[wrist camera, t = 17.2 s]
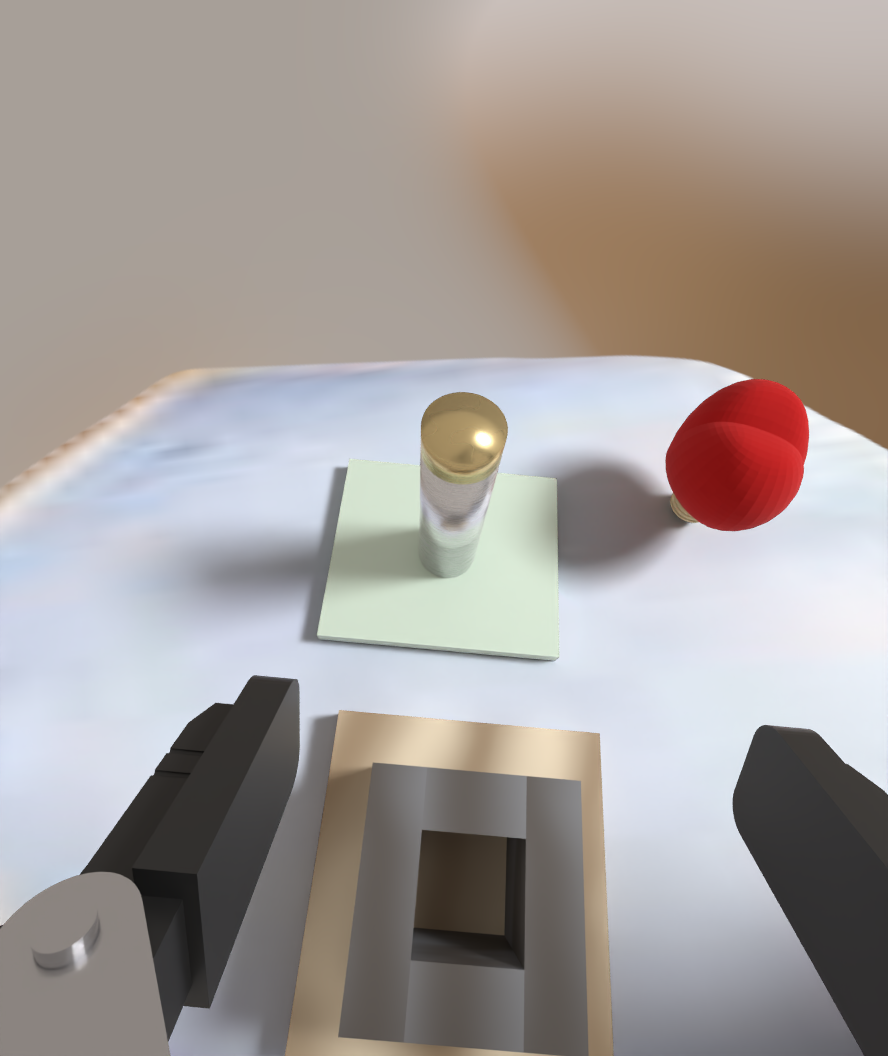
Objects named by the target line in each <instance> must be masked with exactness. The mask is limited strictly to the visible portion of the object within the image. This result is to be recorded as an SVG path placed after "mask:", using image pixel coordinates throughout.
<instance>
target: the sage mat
mask: <svg viewBox="0 0 888 1056" xmlns="http://www.w3.org/2000/svg"><path fill="white" fill-rule="evenodd" d="M419 514H420V465H409V464H399V463H388V462H378V461H367V460H357V459H349V464H348V470H347V475H346V480H345V486H344V491H343V497H342V502H341V507H340V513H339V518H338V524H337V529H336V534H335V540H334V545H333V551H332V556H331V561H330V567H329V572H328V578H327V583H326V588H325V594H324V599H323V605H322V610H321V616H320V621H319V626H318V632H317V636H318V638H319V639H322V640H333V641H344V642H355V643H366V644H377V645H388V646H399V647H410V648H421V649H432V650H443V651H454V652H465V653H476V654H487V655H498V656H509V657H520V658H531V659H542V660H553V661H555V660H557V659H558V658H559V604H558V530H557V478H547V477H536V476H526V475H515V474H505V473H497V476H496V479H495V483H494V487H493V490H492V494H491V498H490V502H489V505H488V509H487V513H486V517H485V520H484V524H483V528H482V531H481V535H480V539H479V543H478V546H477V550H476V554H475V558H474V561H473V563H472V565H471V567H470V568H469V569H468V570H467V571H466V572H465V573H463V574H462V575H460V576H457V577H454V578H441V577H437V576H435V575H433V574H431V573H430V572H429V571H427V570H426V569H425V567H424V566H423V565H422V563H421V560H420V557H419Z"/></svg>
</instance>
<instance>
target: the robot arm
mask: <svg viewBox="0 0 888 1056" xmlns="http://www.w3.org/2000/svg"><path fill="white" fill-rule="evenodd" d="M299 748H300V736H299V683H298V680H297V679H288V678H278V677H267V676H257V675H254V676H252V677H251V678H250V679H249V681H248V682H247V684H246V685H245V687H244V689H243V690H242V692H241V693H240V695H239V697H238V698H237V700H236V702H235V703H234V705H233V704H222V703H215V704H214V705H212V706H211V707H209V708H208V709H207V710H205V711H204V712H203V713H201V714H200V715H198V716H197V717H196V718H194V719H193V720H192V721H190V722H189V723H188V724H187V726H186V727H185V728H184V730H183V731H182V733H181V734H180V735H179V737H178V738H177V740H176V741H175V742H174V744H173V745H172V747H171V748H170V752H169V753H167V754H166V755H165V756H164V758H163V759H162V761H161V762H160V763H159V765H158V766H157V768H156V769H155V773H154V775H153V776H150V778H149V779H148V780H147V782H146V783H145V785H144V786H143V787H142V789H141V790H140V792H139V793H138V794H137V796H136V797H135V799H134V800H133V801H132V803H131V804H130V806H129V807H128V809H127V810H126V811H125V813H124V814H123V816H122V817H121V818H120V820H119V821H118V823H117V824H116V825H115V827H114V828H113V830H112V831H111V832H110V834H109V835H108V837H107V838H106V839H105V841H104V842H103V844H102V845H101V846H100V848H99V849H98V851H97V852H96V854H95V855H94V856H93V858H92V859H91V861H90V862H89V863H88V865H87V866H86V867H85V868H84V870H83V871H82V872H81V874H80V875H77V876H74V877H72V878H69V879H66V880H63V881H61V882H59V883H57V884H55V885H53V886H51V887H49V888H47V889H46V890H44V891H42V892H41V893H39V894H37V895H36V896H35V897H33V898H32V899H31V900H29V901H28V902H27V903H25V904H24V905H23V906H22V907H21V908H20V909H18V910H17V911H16V912H15V913H14V914H13V915H12V916H11V917H10V918H9V919H8V920H7V922H6V923H5V924H4V925H1V926H0V1056H170V1051H169V1045H168V1041H169V1039H170V1036H171V1034H172V1032H173V1029H174V1027H175V1024H176V1022H177V1020H178V1017H179V1015H180V1012H181V1010H182V1008H183V1006H189V1007H200V1008H210V1006H211V1003H212V1001H213V998H214V995H215V993H216V990H217V987H218V985H219V982H220V979H221V977H222V974H223V971H224V969H225V966H226V963H227V961H228V958H229V955H230V953H231V950H232V947H233V945H234V942H235V939H236V937H237V934H238V931H239V929H240V926H241V924H242V921H243V918H244V916H245V913H246V910H247V908H248V905H249V902H250V900H251V897H252V894H253V892H254V889H255V886H256V884H257V881H258V878H259V876H260V873H261V870H262V868H263V865H264V862H265V860H266V857H267V854H268V852H269V849H270V846H271V844H272V841H273V838H274V836H275V833H276V831H277V828H278V825H279V823H280V820H281V817H282V815H283V812H284V809H285V807H286V804H287V801H288V799H289V796H290V793H291V791H292V788H293V785H294V781H295V777H296V773H297V767H298V761H299ZM733 814H734V819H735V823H736V826H737V828H738V831H739V833H740V835H741V837H742V839H743V840H744V842H745V844H746V846H747V847H748V849H749V851H750V853H751V855H752V856H753V858H754V860H755V862H756V864H757V865H758V867H759V869H760V871H761V872H762V874H763V876H764V878H765V880H766V881H767V883H768V885H769V887H770V888H771V890H772V892H773V894H774V896H775V897H776V899H777V901H778V903H779V904H780V906H781V908H782V910H783V912H784V913H785V915H786V917H787V919H788V921H789V922H790V924H791V926H792V928H793V929H794V931H795V933H796V935H797V937H798V938H799V940H800V942H801V944H802V945H803V947H804V949H805V951H806V953H807V954H808V956H809V958H810V960H811V961H812V963H813V965H814V967H815V969H816V970H817V972H818V974H819V976H820V978H821V979H822V981H823V983H824V985H825V986H826V988H827V990H828V992H829V994H830V995H831V997H832V999H833V1001H834V1002H835V1004H836V1006H837V1008H838V1010H839V1011H840V1013H841V1015H842V1017H843V1019H844V1020H845V1022H846V1024H847V1026H848V1027H849V1029H850V1031H851V1033H852V1035H853V1036H854V1038H855V1040H856V1042H857V1043H858V1045H859V1047H860V1049H861V1051H862V1052H863V1054H864V1056H888V795H887V794H886V793H885V791H884V790H882V789H881V788H880V787H878V786H877V785H875V784H874V783H873V782H871V781H870V780H869V779H867V778H866V777H865V776H863V775H862V774H860V773H859V772H858V771H856V770H855V769H854V768H852V767H851V766H849V765H848V764H845V763H844V762H843V761H842V760H841V758H840V757H839V756H838V755H837V754H836V753H835V752H834V751H833V750H832V749H831V747H830V746H829V745H828V744H827V743H826V742H825V741H824V740H823V739H822V737H821V736H820V735H819V734H817V733H816V732H815V731H813V730H810V729H802V728H791V727H781V726H770V725H763V726H761V727H759V728H758V729H757V731H756V732H755V734H754V737H753V739H752V742H751V745H750V748H749V751H748V754H747V756H746V759H745V762H744V765H743V768H742V770H741V773H740V776H739V779H738V782H737V785H736V787H735V790H734V794H733Z"/></svg>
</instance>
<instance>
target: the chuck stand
mask: <svg viewBox="0 0 888 1056" xmlns="http://www.w3.org/2000/svg"><path fill="white" fill-rule="evenodd" d="M285 1056H614V1055H613V1032H612V1009H611V986H610V963H609V940H608V917H607V894H606V871H605V848H604V825H603V801H602V778H601V755H600V733H589V732H577V731H566V730H555V729H544V728H533V727H522V726H511V725H499V724H488V723H477V722H466V721H455V720H444V719H433V718H421V717H410V716H399V715H388V714H377V713H366V712H355V711H343V710H339V714H338V720H337V726H336V733H335V739H334V746H333V752H332V758H331V765H330V771H329V777H328V784H327V790H326V797H325V803H324V809H323V816H322V822H321V828H320V835H319V841H318V847H317V854H316V860H315V867H314V873H313V879H312V886H311V892H310V898H309V905H308V911H307V917H306V924H305V930H304V937H303V943H302V949H301V956H300V962H299V968H298V975H297V981H296V987H295V994H294V1000H293V1007H292V1013H291V1019H290V1026H289V1032H288V1038H287V1045H286V1051H285Z"/></svg>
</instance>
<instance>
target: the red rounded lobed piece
mask: <svg viewBox="0 0 888 1056" xmlns="http://www.w3.org/2000/svg"><path fill="white" fill-rule="evenodd" d="M808 441H809V426H808V418H807V414H806V410H805V407H804V406H803V404H802V402H801V400H800V399H799V398H798V397H797V396H796V394H795V393H794V392H792V391H791V390H790V389H788V388H787V387H785V386H783V385H781V384H779V383H777V382H773V381H769V380H765V379H763V380H762V379H751V380H746V381H740V382H737V383H734V384H732V385H730V386H727V387H725V388H723V389H721V390H719V391H717V392H716V393H714V394H713V395H712V396H710V397H709V398H707V399H706V400H705V401H703V402H702V403H701V404H700V405H699V406H698V407H697V408H696V409H695V410H694V411H693V412H692V413H691V414H690V415H689V416H688V417H687V419H686V420H685V421H684V423H683V424H682V426H681V427H680V428H679V430H678V431H677V433H676V435H675V437H674V439H673V441H672V442H671V444H670V446H669V448H668V451H667V454H666V473H667V478H668V481H669V484H670V487H671V489H672V491H673V494H672V496H671V499H670V504H671V508H672V510H673V512H674V513H675V514H676V515H677V516H678V517H679V518H681V519H682V520H684V521H687V522H691V523H697V522H700V523H702V524H704V525H706V526H707V527H710V528H713V529H717V530H722V531H740V530H746V529H751V528H754V527H757V526H759V525H762V524H764V523H766V522H768V521H770V520H771V519H773V518H774V517H776V516H777V515H778V514H780V513H781V512H782V511H783V510H784V509H785V508H786V507H787V506H788V505H789V504H790V502H791V501H792V500H793V498H794V497H795V496H796V494H797V492H798V490H799V488H800V485H801V482H802V478H803V474H804V466H803V465H804V462H805V459H806V455H807V450H808Z"/></svg>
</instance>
